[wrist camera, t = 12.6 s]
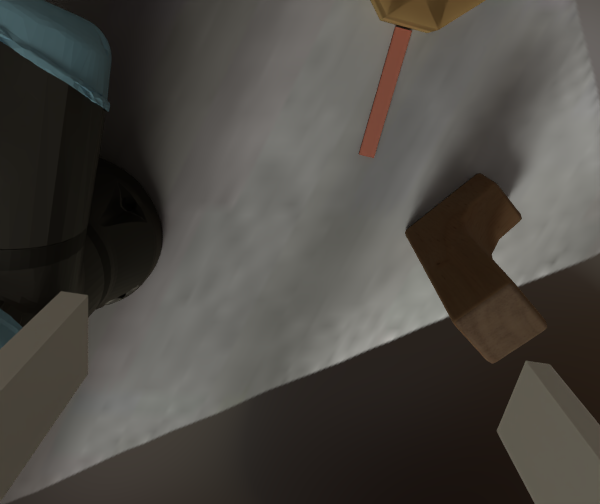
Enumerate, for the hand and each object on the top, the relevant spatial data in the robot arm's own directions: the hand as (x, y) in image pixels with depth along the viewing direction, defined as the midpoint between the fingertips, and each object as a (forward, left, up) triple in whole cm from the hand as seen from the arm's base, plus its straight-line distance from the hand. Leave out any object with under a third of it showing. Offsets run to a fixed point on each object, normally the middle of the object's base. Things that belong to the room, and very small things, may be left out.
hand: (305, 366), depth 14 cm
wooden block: (+15, -2, -33) cm, 36 cm away
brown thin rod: (+5, +7, -33) cm, 34 cm away
